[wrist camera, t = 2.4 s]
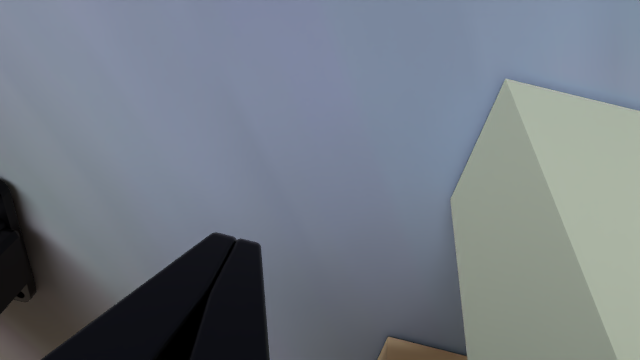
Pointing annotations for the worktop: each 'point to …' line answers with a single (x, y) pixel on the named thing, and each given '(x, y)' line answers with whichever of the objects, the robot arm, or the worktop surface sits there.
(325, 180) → the worktop surface
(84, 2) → the worktop surface
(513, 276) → the sage block
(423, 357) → the oak block
